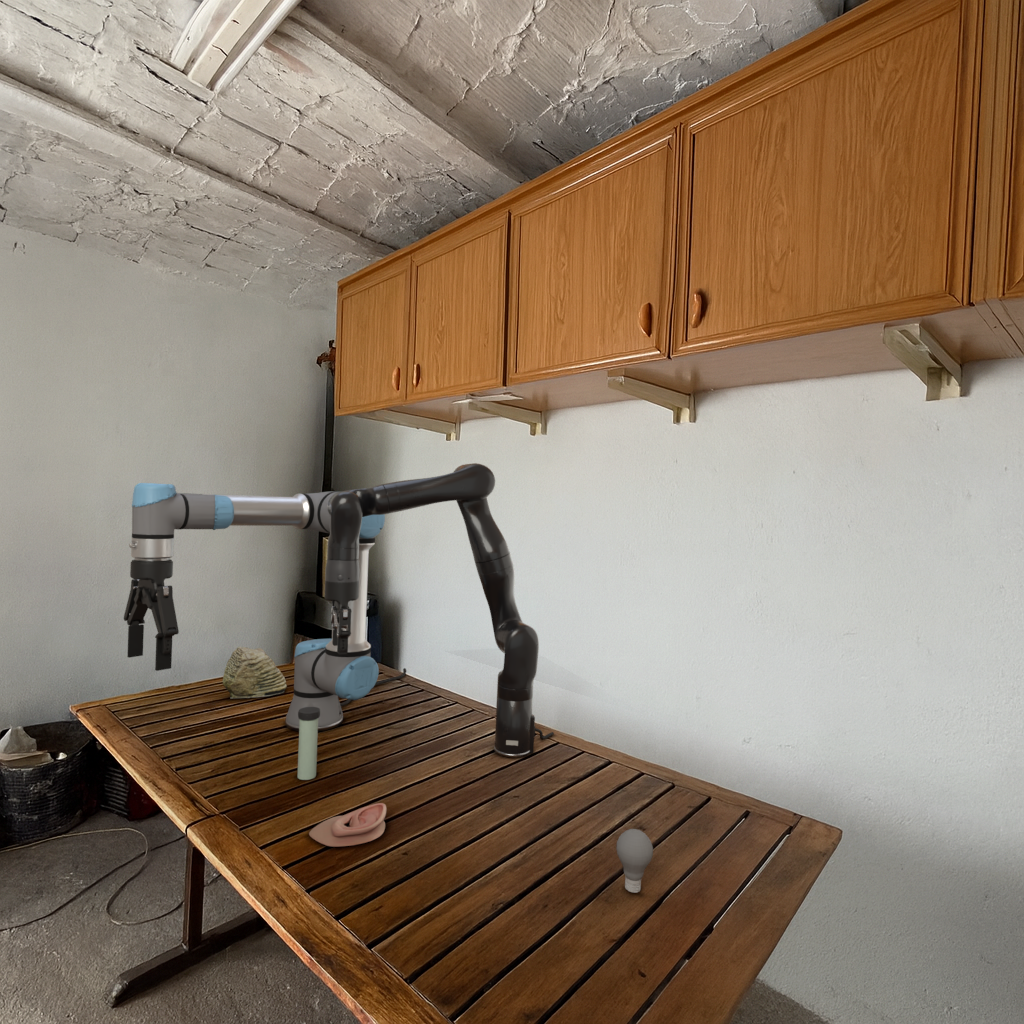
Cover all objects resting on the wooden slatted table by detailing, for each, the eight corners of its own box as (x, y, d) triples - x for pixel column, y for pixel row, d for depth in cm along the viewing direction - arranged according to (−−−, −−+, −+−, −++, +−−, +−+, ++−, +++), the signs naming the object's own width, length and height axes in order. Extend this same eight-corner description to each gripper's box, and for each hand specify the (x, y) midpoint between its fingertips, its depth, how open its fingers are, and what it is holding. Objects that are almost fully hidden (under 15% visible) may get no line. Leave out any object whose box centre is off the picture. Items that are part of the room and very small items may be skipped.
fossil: (218, 695, 195) (220, 647, 195) (278, 685, 208) (279, 640, 207) (228, 703, 189) (230, 653, 188) (289, 692, 201) (290, 645, 201)
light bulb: (610, 879, 108) (613, 822, 108) (644, 879, 109) (647, 822, 109) (619, 902, 102) (622, 840, 102) (655, 901, 103) (658, 840, 103)
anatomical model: (301, 820, 116) (331, 792, 127) (300, 842, 116) (330, 812, 127) (368, 831, 113) (393, 801, 124) (368, 853, 113) (392, 821, 124)
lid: (307, 722, 140) (307, 715, 140) (293, 717, 142) (293, 710, 142) (324, 716, 144) (324, 709, 144) (310, 712, 146) (310, 705, 146)
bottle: (305, 781, 140) (307, 716, 140) (293, 776, 143) (296, 712, 142) (319, 775, 144) (322, 711, 143) (308, 770, 146) (310, 707, 146)
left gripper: (108, 554, 134) (104, 654, 134) (159, 565, 118) (155, 678, 119) (146, 552, 140) (143, 648, 140) (199, 563, 124) (195, 671, 124)
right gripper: (364, 582, 139) (361, 656, 139) (354, 574, 152) (351, 641, 153) (328, 583, 136) (326, 658, 137) (321, 574, 149) (319, 643, 150)
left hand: (148, 662), depth 129 cm, fingers open, 13 cm apart
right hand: (339, 649), depth 145 cm, fingers open, 8 cm apart
